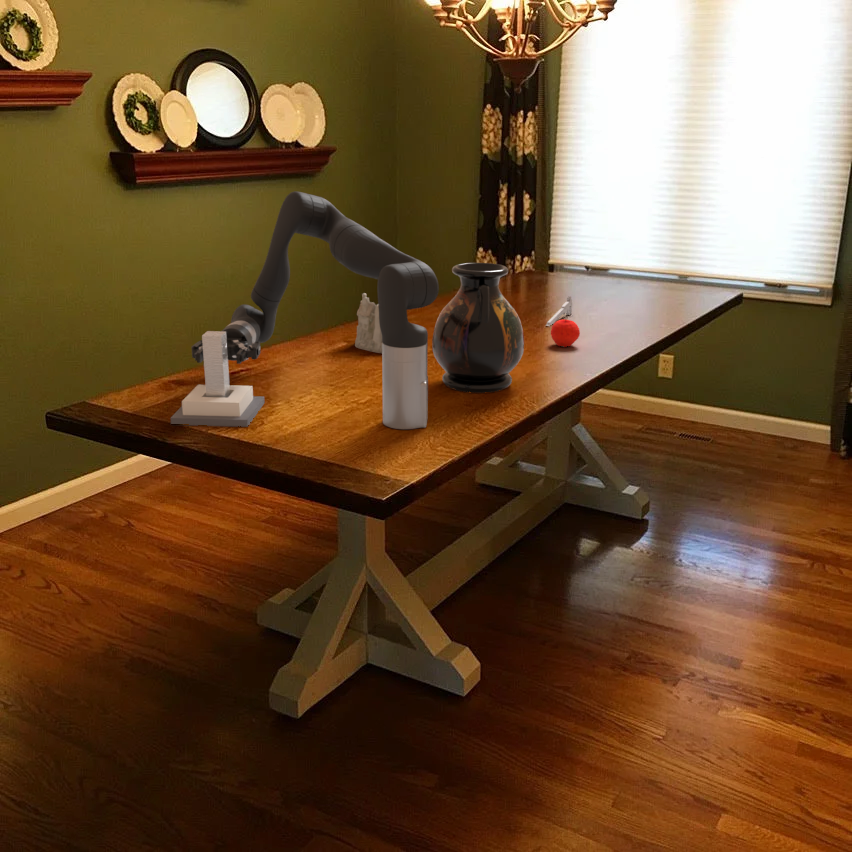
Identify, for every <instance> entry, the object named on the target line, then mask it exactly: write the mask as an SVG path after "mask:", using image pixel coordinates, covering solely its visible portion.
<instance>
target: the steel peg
mask: <svg viewBox="0 0 852 852" xmlns="http://www.w3.org/2000/svg"><path fill="white" fill-rule="evenodd" d="M201 340H202V343H203V357H204V360H203V370H204V380H205V381H204V382H205V384H204V385H206V397H220V398H228V397H229V396H230V373H229V372H230V371H229V369H230V368H229V360H228V353H227V338H226V332H225V331H222V330H221V331H219V330H218V331H215V330H207V331H206V332H205V333H203V334H202V335H201Z"/></svg>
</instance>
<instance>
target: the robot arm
mask: <svg viewBox="0 0 852 852" xmlns="http://www.w3.org/2000/svg"><path fill="white" fill-rule="evenodd" d="M295 234H299V235H303V236H309V237H312V238H317V239H319V240H322V241H324V242H326V243H328V245H329V250H330V253H331V255H332V257H333V258H334V259H335V260H336V261H337V262H338V263H339V264H341V265H342V266H344V267H345V268H346V269H348V270H349V271H351V272H353V273H355V274H356V275H357V274H358V275H360V276H363V277H367V278H371V279H375V280H377V289H376V290H377V302H378V303H377V304H378V307H379V324H380V329H381V333H382V353H381V354H382V355H381V357H382V361H381V363H382V366H381V367H382V368H381V370H382V371H381V372H382V379H381V380H382V381H381V382H382V424H383V425H384V426H385V427H388V428H391V429H396V430H415V429H419V428H426V427H427V424H428V415H429V414H428V413H429V411H428V403H429V402H428V401H429V398H428V397H429V375H428V342H429V341H428V336H429V333H428V329H427V328H426V327H424V326H422V325H419V324H415V323H412V322H409V320H408V311H409V310H414V309H421V308H425V307H428V306H429V305H431V304H432V303H434V302H435V300H436V299H437V297H438V295H439V291H440V290H439V289H440V288H439V287H440V286H439V281H438V278H437V276H436V274H435V272H434V270H433V269H432V268H431V267H430V266H429V265H428V264H426V263H425V262H423V261H421V260H420V259H417V258H415V257H413V256H411V255H408V254H406V253H404V252H402V251H400V250H398V249H397V248H396V247H394V246H392V245H391V244H390V243H388V242H386V241H385V240H384V239H381V238H380V237H379V236H377V235H376V234H374V233H373V232H372V231H370V230H369V229H367V227H366V228H365V227H364V226H363V225H361V224H359V223H357V222H356V221H354V220H352V219H350V218H349V217H346V215H344V214H343V213H342V212H341V211H340V210H339V209H337V208H336V207H335V205H334V204H332V203H331V202H330V201H329V200H327V199H325V198H324V197H322V196H318V195H314V194H309V193H306V192H301V191H297V190H296V191H291V192H289V193H288V195H287V196H286V197H285V198H284V201H283V202H282V205H281V207H280V209H279V212H278V215H277V220H276V223H275V226H274V229H273V232H272V236H271V240H270V243H269V248H268V251H267V254H266V258H265V260H264V263H263V265H262V269H261V271H260V274H259V276H258V278H257V279H256V281H255V284H254V286H253V288H252V290H251V292H250V293H251V294H250V299H251V300H252V302H253V303H254V305H256V306H258V308H259V309H260V310H259V309H257V308H255V307H254V306H251V305H249V304H240V305H239V306H237V307H236V309H234V311H233V313H232V316H231V319H230V323H229V324H228V325H226V326H225V327H224V328H223V329H222V330H221V331H225V332H226V338H227V353H228V361H233V362H234V361H236V364H239V365H240V364H242V363H243V362H245V361H247V360H249V358H250V359H251V360H257V359H258V358H259V356H260V354H262V353H261V343H262V344H263V343H266V342H267V341H269V340H270V338H271V337H272V335H274V334H273V333H274V331H275V326H276V318H277V314H278V309H279V304H280V302H281V300H282V299H283V296H284V294H285V292H286V289H287V287H288V285H289V282H290V277H291V268H290V267H291V266H290V260H289V244H290V243H291V240H292V238H293V237H294V235H295ZM191 356H192V357H191V358H193V359H194V361H196V362H197V363H198V364H200V363H202V362H204V357H203V343H202V339H201V340H199V341H197V342H195V343H194V344H193V345H191Z"/></svg>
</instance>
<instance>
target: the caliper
mask: <svg viewBox="0 0 852 852" xmlns="http://www.w3.org/2000/svg"><path fill="white" fill-rule="evenodd" d="M570 314H571V315H572V314H573V298H572V296H570V295H568V296H567V297H566V301H565V302H564V303H563V304H562V305H561V308H560V309H558V311H556V312H555V313H554V315H553V316H552V317H551V318H550V319H549V320H548V321H547V322H546V324H545V326H549V327H551V326H550V325H552V324H554V323H555V322H556V321H558V320H559V319H560V317H562V316H563V315H566V316H567V315H570ZM571 315H570V316H571ZM552 326H553V325H552Z"/></svg>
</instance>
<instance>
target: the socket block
mask: <svg viewBox="0 0 852 852" xmlns="http://www.w3.org/2000/svg"><path fill="white" fill-rule="evenodd" d="M229 385H230V384H229ZM253 389H254V388H253V385H234V384H233V385H230V396H229V397H228V398H220V397H206V384H197V385H196V386H195V387H194V388H193V389H192V390H191V391H190V392H189V393H188V394H187V395H186V396H185V398H184V399H182V400H181V406H180V407H179V409H178V410H177V411H176V412H175V413H173V415H172V416H171V417H170V425H171V424H189V425H188V426H198V425H207V426H206V427H236V428H237V427H238V426H239V427H240V426H241V427H243V428H245V427H246V428H247V427H249V426H250V424H251V423H252V421H253V420H254V419H253V418H256V416H257V414H258V413H259V412H258V411H260V410H261V409H262V407H263V406H264V404H265V396H264V395H263V396H260V395H259V396H255V395H254V390H253ZM250 422H251V423H250ZM248 425H249V426H248Z"/></svg>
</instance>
